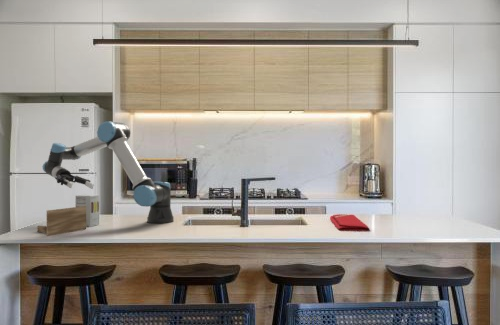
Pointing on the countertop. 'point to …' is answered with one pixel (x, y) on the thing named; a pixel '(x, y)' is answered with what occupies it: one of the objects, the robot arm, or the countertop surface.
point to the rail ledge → (64, 220)
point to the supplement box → (89, 208)
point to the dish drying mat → (348, 223)
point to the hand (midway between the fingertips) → (82, 186)
